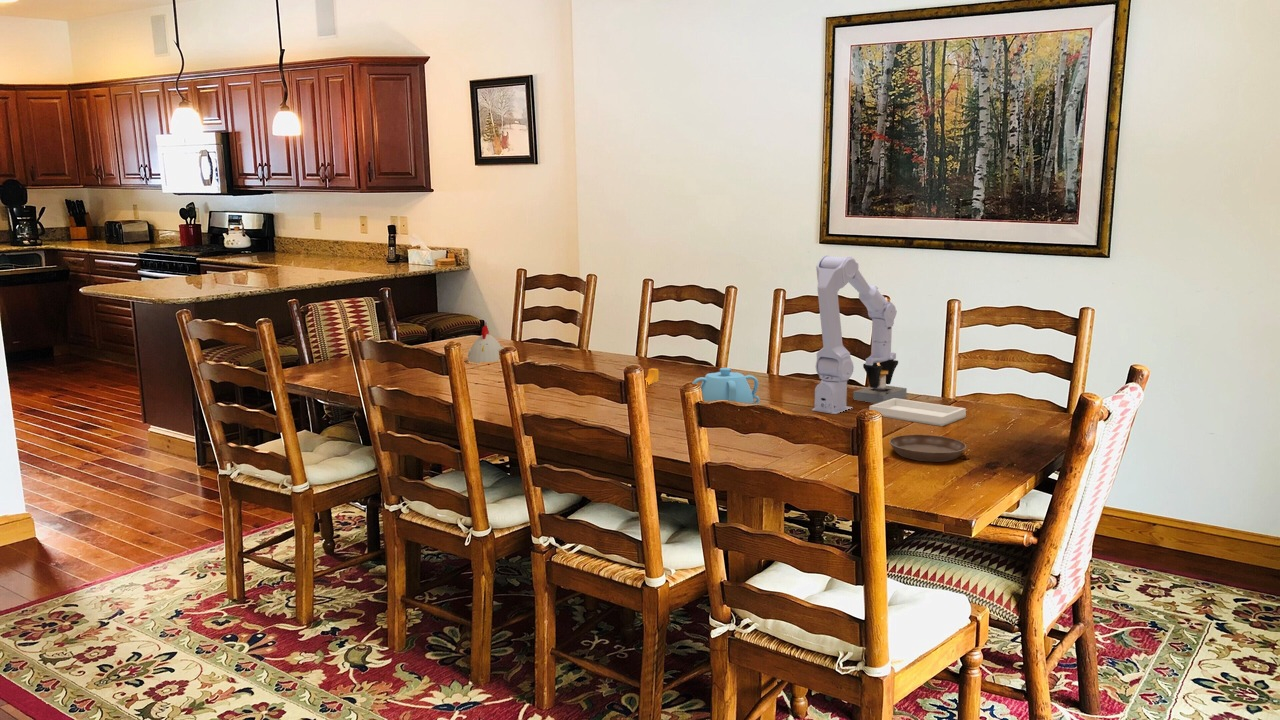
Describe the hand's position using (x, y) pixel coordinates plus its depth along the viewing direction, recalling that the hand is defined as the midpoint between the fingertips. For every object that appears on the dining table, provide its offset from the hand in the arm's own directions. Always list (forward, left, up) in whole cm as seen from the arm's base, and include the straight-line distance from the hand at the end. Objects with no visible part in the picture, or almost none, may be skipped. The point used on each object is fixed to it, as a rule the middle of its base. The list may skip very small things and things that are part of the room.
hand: (880, 385), depth 300 cm
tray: (-13, -19, -4) cm, 23 cm away
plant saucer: (-48, -40, -5) cm, 63 cm away
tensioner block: (0, 0, -4) cm, 4 cm away
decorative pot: (-46, +23, -4) cm, 52 cm away
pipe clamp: (-35, +65, -5) cm, 74 cm away
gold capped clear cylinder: (0, 0, -4) cm, 4 cm away
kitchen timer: (-38, +141, -4) cm, 146 cm away
